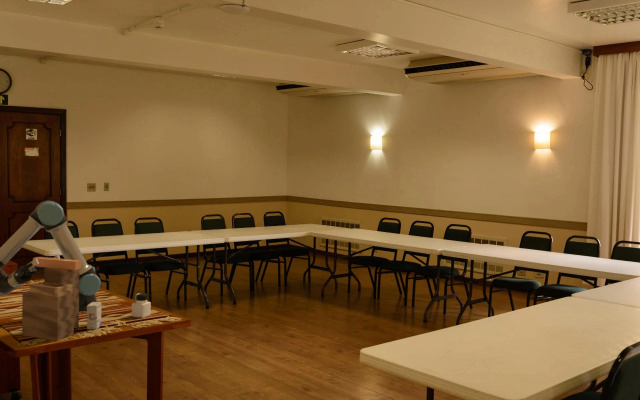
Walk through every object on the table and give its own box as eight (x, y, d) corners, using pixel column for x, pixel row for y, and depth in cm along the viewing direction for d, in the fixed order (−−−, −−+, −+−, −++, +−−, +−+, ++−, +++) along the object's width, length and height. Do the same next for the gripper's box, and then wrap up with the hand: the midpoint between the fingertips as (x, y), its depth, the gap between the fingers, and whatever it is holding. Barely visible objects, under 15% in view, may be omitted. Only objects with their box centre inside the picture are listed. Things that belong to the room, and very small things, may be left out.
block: (38, 265, 301) (38, 256, 301) (80, 268, 294) (80, 260, 294) (32, 266, 297) (32, 258, 297) (75, 270, 291) (75, 261, 290)
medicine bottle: (150, 315, 330) (151, 293, 329) (142, 318, 323) (143, 295, 322) (139, 313, 332) (139, 291, 331) (131, 316, 325) (131, 294, 325)
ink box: (91, 324, 307) (91, 301, 306) (101, 324, 307) (101, 301, 306) (86, 329, 298) (86, 305, 297) (96, 329, 298) (97, 305, 298)
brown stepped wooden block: (58, 324, 306) (58, 264, 304) (91, 329, 298) (92, 268, 296) (22, 335, 285) (22, 271, 283) (57, 340, 278) (57, 275, 276)
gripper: (42, 280, 316) (70, 262, 309) (1, 288, 293) (30, 270, 286) (37, 267, 317) (64, 249, 310) (-5, 274, 294) (24, 255, 287)
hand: (48, 259), depth 298 cm, fingers open, 13 cm apart
